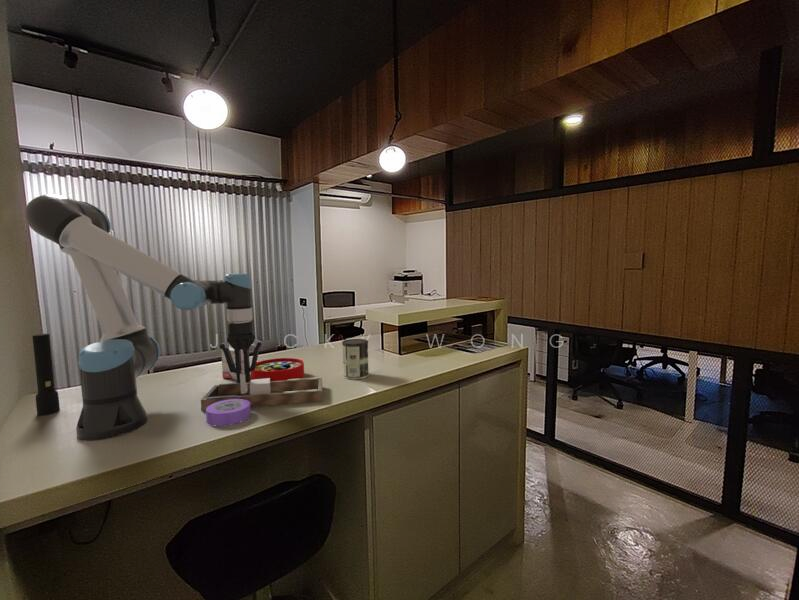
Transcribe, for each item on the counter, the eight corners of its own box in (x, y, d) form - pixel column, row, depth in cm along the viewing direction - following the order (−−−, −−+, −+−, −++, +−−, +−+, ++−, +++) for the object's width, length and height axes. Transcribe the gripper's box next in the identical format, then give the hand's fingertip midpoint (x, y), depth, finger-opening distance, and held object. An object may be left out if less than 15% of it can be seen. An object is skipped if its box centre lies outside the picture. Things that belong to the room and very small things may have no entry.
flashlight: (34, 413, 111) (40, 416, 108) (26, 335, 108) (32, 336, 106) (55, 407, 115) (62, 410, 112) (48, 332, 113) (55, 333, 110)
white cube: (270, 395, 125) (270, 377, 125) (270, 401, 119) (269, 383, 119) (251, 397, 123) (251, 379, 123) (250, 403, 118) (249, 385, 117)
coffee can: (364, 371, 153) (364, 337, 151) (372, 377, 143) (371, 342, 142) (340, 373, 149) (339, 339, 147) (346, 381, 139) (345, 344, 138)
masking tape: (238, 407, 114) (238, 395, 114) (258, 416, 107) (257, 404, 107) (199, 419, 105) (198, 406, 105) (218, 430, 98) (217, 417, 98)
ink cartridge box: (222, 379, 143) (219, 342, 142) (229, 375, 148) (227, 339, 147) (242, 379, 142) (240, 342, 141) (249, 375, 147) (247, 339, 146)
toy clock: (239, 366, 141) (282, 355, 157) (239, 381, 141) (282, 369, 158) (271, 374, 129) (314, 362, 146) (272, 390, 130) (314, 376, 146)
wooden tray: (201, 411, 111) (200, 399, 111) (215, 395, 125) (214, 384, 125) (322, 401, 118) (321, 390, 118) (322, 387, 132) (322, 376, 132)
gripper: (263, 318, 123) (266, 387, 125) (221, 320, 120) (226, 390, 122) (259, 322, 116) (263, 394, 118) (215, 324, 113) (219, 397, 115)
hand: (244, 392), depth 120 cm, fingers closed
